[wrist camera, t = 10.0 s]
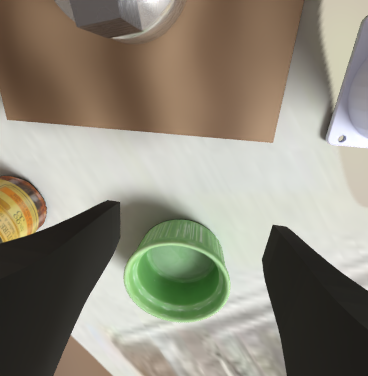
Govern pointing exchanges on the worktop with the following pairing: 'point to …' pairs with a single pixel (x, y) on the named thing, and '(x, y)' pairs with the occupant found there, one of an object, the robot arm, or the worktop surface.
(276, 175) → the worktop surface
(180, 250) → the ramekin
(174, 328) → the worktop surface
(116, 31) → the silver rounded piece
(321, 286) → the robot arm
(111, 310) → the worktop surface
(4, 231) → the sauce bottle
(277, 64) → the baseplate
